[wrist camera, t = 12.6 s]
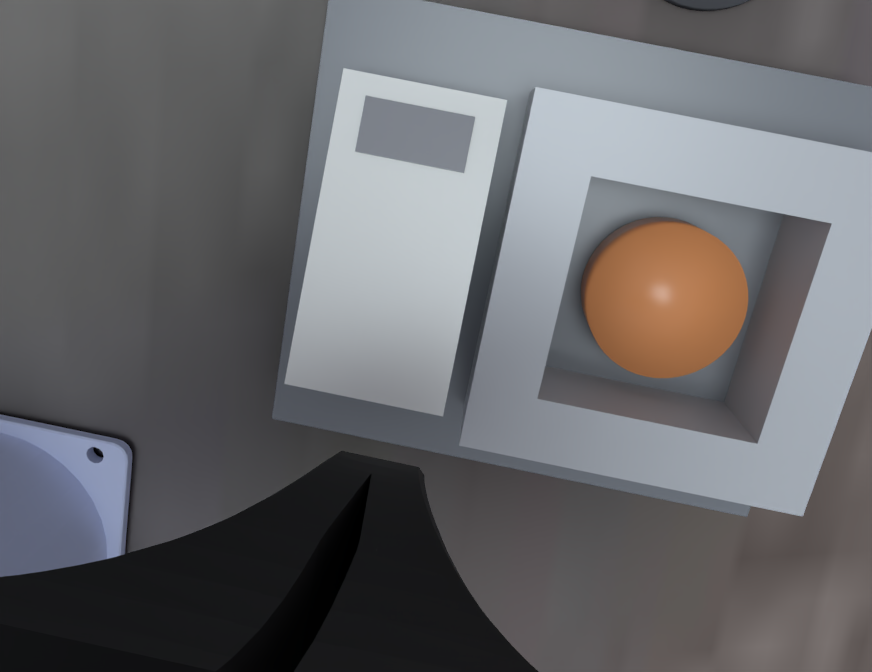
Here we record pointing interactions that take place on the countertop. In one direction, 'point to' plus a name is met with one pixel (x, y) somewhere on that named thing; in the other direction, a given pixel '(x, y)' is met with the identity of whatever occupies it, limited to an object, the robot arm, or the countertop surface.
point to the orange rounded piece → (663, 297)
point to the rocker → (394, 241)
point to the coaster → (706, 4)
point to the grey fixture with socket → (593, 222)
